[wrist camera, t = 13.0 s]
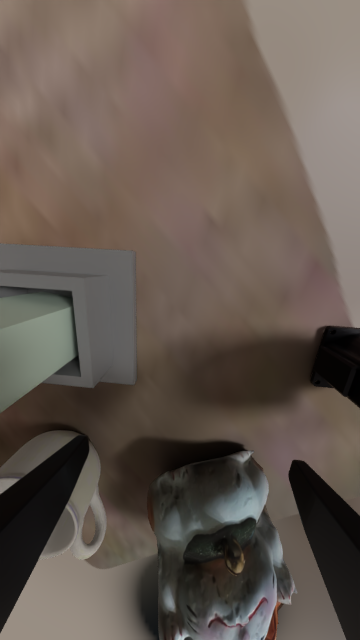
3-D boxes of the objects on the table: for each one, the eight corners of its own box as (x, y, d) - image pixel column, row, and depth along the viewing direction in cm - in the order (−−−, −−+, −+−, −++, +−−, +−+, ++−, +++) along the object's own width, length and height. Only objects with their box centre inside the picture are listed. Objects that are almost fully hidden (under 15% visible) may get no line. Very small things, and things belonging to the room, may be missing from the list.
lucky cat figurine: (277, 443, 22) (387, 690, 12) (236, 466, 30) (282, 628, 20) (152, 456, 19) (160, 827, 8) (142, 478, 26) (139, 686, 16)
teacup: (20, 436, 25) (-56, 509, 18) (73, 402, 23) (13, 469, 15) (87, 498, 28) (46, 586, 20) (141, 473, 26) (119, 562, 18)
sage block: (90, 300, 18) (-142, 374, 6) (89, 346, 19) (-98, 486, 7) (41, 291, 18) (-291, 344, 6) (44, 337, 20) (-219, 460, 7)
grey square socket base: (135, 251, 17) (112, 245, 13) (136, 379, 21) (120, 412, 17) (-3, 244, 18) (-74, 235, 13) (23, 368, 22) (-25, 396, 17)
